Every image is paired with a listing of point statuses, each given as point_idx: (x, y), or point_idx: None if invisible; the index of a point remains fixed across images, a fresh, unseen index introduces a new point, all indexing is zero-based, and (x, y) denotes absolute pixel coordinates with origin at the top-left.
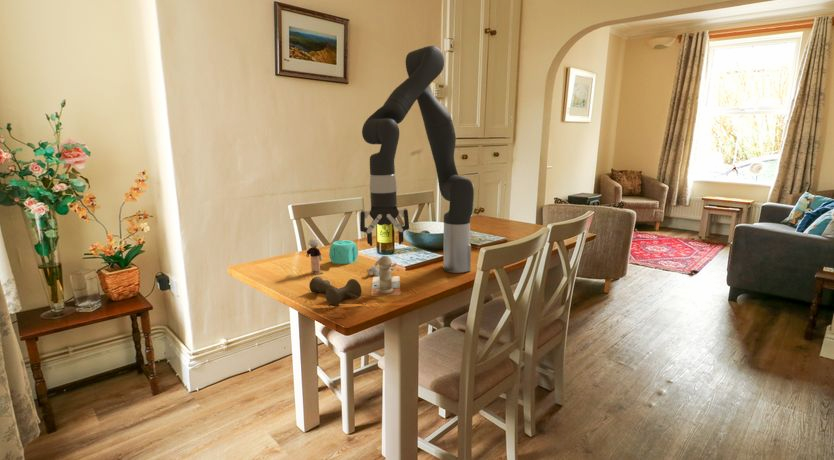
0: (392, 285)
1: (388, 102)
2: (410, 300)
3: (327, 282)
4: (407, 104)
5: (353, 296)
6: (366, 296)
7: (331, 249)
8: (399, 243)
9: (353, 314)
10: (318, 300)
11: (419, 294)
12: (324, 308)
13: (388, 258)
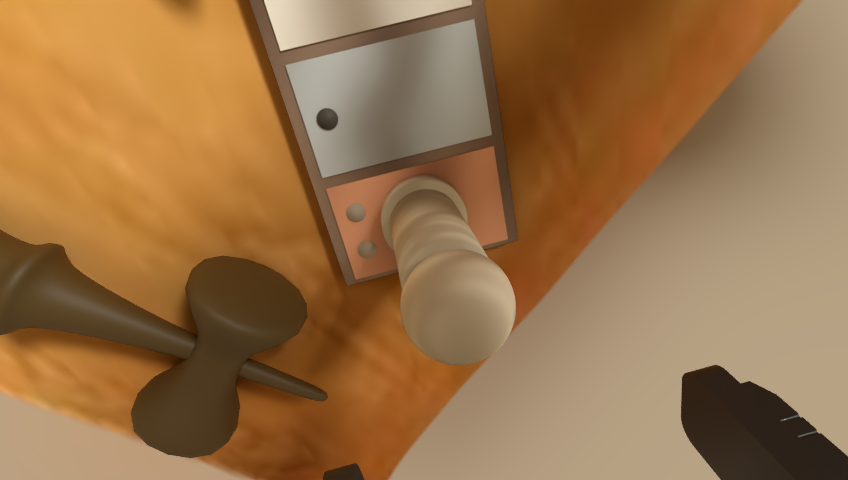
0: (437, 100)
1: None
2: (553, 256)
3: (32, 298)
4: None
5: (299, 394)
6: (320, 248)
7: None
8: (696, 439)
9: (339, 430)
10: (86, 343)
11: (595, 172)
12: None
13: (503, 338)
